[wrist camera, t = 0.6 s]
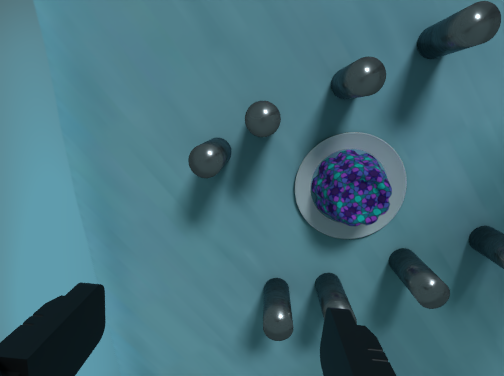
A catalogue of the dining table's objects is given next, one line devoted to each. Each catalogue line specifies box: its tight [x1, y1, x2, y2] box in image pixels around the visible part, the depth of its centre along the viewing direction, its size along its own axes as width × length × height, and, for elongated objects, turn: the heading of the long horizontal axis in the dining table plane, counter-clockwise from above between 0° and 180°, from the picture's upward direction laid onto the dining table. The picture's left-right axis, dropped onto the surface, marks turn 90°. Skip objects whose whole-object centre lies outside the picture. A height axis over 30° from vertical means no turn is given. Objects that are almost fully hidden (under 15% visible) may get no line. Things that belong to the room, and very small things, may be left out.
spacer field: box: [189, 1, 504, 341], centre depth 31 cm, size 27×25×7 cm
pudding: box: [295, 132, 407, 239], centre depth 32 cm, size 12×12×5 cm
